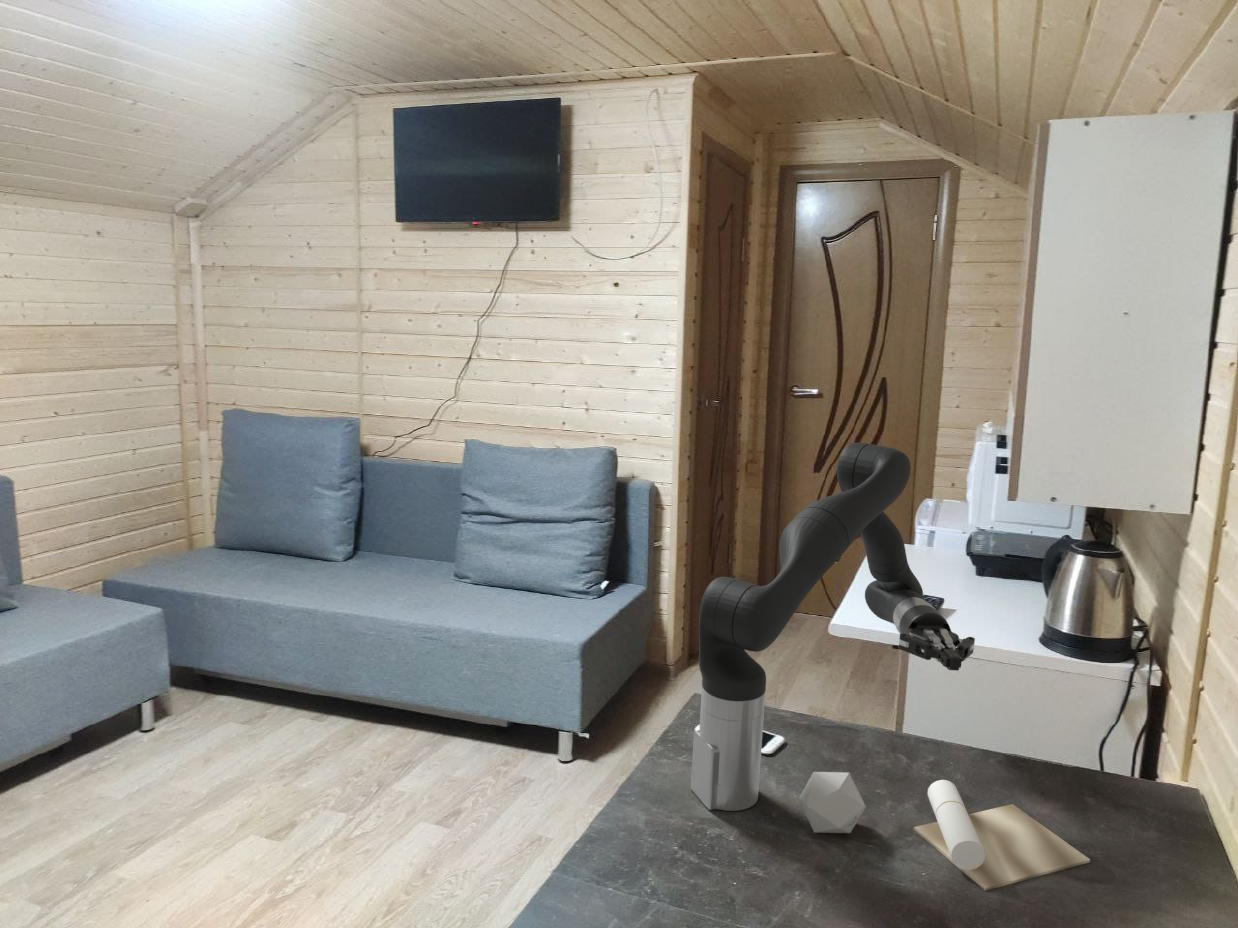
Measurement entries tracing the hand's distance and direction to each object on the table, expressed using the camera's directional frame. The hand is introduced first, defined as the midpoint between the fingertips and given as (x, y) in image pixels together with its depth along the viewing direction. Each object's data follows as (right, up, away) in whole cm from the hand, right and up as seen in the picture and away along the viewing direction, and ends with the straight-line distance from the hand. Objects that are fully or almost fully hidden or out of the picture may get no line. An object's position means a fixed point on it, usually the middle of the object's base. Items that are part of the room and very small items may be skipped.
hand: (955, 664), depth 145 cm
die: (-22, -20, -13) cm, 33 cm away
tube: (-5, -17, -8) cm, 19 cm away
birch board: (0, -22, -16) cm, 27 cm away
